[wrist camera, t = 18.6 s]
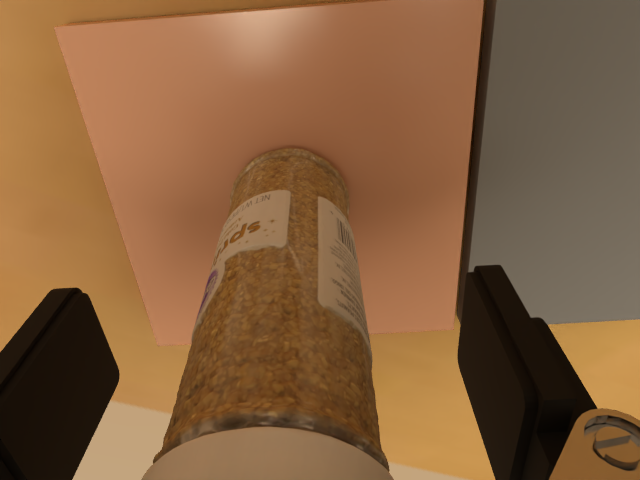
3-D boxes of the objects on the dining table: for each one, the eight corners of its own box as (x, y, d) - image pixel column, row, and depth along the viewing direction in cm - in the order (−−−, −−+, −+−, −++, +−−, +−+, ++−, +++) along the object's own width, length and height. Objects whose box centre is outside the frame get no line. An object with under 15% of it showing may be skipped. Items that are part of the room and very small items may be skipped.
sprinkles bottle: (230, 140, 17) (65, 556, 5) (357, 149, 17) (453, 564, 6) (232, 248, 19) (120, 691, 8) (344, 254, 20) (392, 692, 8)
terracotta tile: (475, -10, 16) (484, -8, 15) (448, 315, 22) (453, 329, 22) (67, 23, 16) (53, 27, 15) (164, 331, 23) (157, 345, 22)
